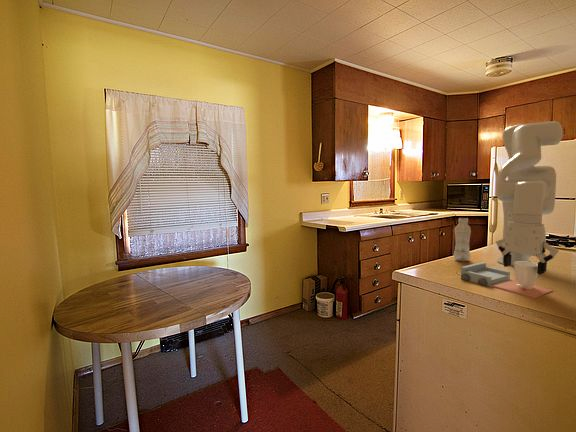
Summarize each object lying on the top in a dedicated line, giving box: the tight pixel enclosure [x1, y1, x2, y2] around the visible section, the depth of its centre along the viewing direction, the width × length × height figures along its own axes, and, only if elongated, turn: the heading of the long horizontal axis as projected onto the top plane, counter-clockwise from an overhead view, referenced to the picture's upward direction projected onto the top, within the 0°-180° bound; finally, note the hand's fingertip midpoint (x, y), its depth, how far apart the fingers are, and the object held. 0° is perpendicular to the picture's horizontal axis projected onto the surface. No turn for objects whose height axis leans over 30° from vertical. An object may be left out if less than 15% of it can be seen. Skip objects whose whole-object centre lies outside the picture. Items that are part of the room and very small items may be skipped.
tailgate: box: [492, 279, 554, 299], centre depth 100 cm, size 12×12×1 cm
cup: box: [513, 261, 539, 289], centre depth 99 cm, size 7×10×8 cm
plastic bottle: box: [453, 217, 472, 263], centre depth 136 cm, size 6×7×20 cm
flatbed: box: [460, 261, 511, 288], centre depth 110 cm, size 15×11×5 cm
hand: (523, 269), depth 100 cm, fingers open, 9 cm apart
